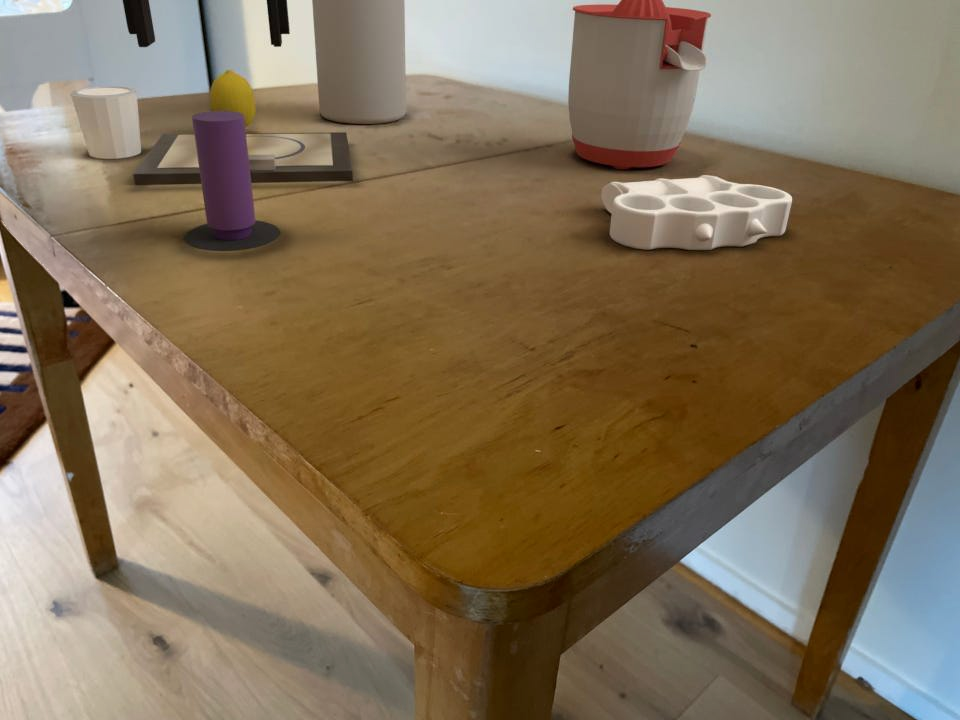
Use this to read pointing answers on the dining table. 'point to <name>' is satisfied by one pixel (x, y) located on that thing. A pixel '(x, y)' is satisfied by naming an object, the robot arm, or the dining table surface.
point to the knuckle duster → (694, 213)
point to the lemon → (233, 95)
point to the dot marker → (225, 173)
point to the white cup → (109, 121)
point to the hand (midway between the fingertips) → (213, 44)
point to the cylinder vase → (360, 60)
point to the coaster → (206, 240)
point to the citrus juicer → (633, 80)
